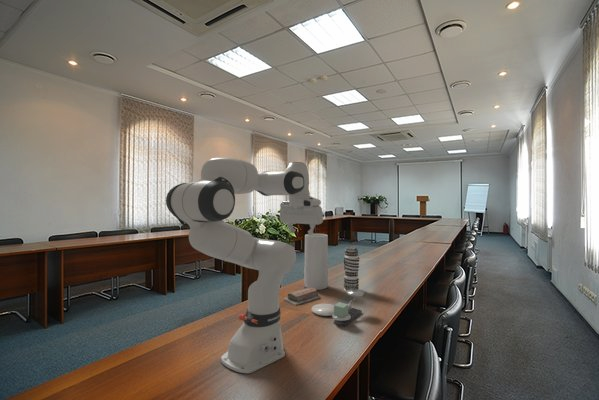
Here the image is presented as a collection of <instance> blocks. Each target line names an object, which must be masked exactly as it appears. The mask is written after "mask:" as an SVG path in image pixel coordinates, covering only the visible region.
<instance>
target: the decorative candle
mask: <svg viewBox="0 0 599 400" xmlns="http://www.w3.org/2000/svg"><path fill="white" fill-rule="evenodd" d="M359 262H360V257H359V250H358V248H357V247H354V246H348V247H346V248H345V249H344V258H343V270H344V277H343V282H344V283H343V288H344V289H343V290H344V292H346V291H347V290H349V289H359V290H360V288H359V287H360V285H359V282H360V281H359V280H360V279H359V271H360V269H359V268H360V266H359V265H360V263H359Z"/></svg>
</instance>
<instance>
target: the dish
mask: <svg viewBox="0 0 599 400" xmlns="http://www.w3.org/2000/svg"><path fill="white" fill-rule="evenodd" d="M334 305H335V304H332V303H318V304H317V303H316V304H314V305H313V306H312V307H311V312H312V313H314V314H315V315H318V316H322V317H330V316H331V317H332V314H333V313H334Z"/></svg>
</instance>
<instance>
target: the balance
mask: <svg viewBox="0 0 599 400" xmlns="http://www.w3.org/2000/svg"><path fill="white" fill-rule="evenodd" d="M364 294H365V291H364V290H363V289H362V290H361V289H360V288H359V289H349V290H347V292H346V295H348V296H351V297H352V298H351V300H350V301H349V302H348V303H347V304H348V315H347V316H346V317H345V318H340V317H337V316H334V313H333V314H332V316H331V319H333V324H334V325H337V326H340V327H346V326H348V324H350V323H351V322H352V321H354V320H355V319H356V318H357V317H358V316H360V315H361V314H362V312H363V310H362V309H358V308H355V307H352V305H353V303H354V301H355V300H356V298H357V297H362V296H364Z"/></svg>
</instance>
